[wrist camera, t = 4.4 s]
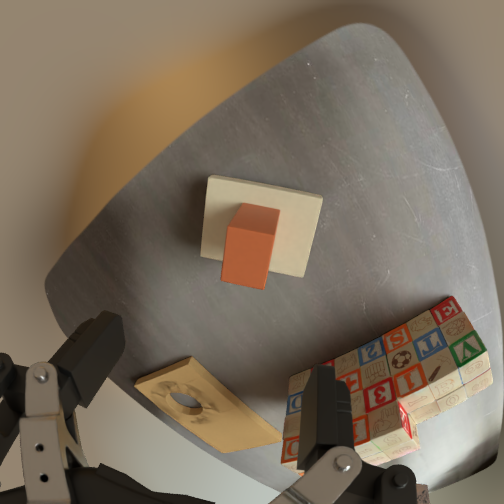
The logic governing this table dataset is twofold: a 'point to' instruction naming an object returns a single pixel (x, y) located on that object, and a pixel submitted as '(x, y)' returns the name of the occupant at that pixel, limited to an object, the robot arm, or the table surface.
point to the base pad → (207, 407)
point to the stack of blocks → (400, 383)
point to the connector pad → (269, 195)
